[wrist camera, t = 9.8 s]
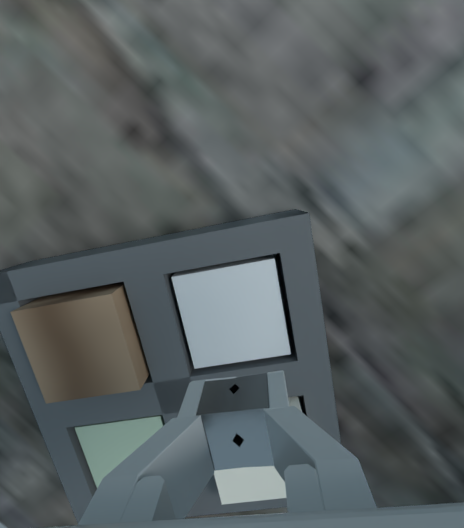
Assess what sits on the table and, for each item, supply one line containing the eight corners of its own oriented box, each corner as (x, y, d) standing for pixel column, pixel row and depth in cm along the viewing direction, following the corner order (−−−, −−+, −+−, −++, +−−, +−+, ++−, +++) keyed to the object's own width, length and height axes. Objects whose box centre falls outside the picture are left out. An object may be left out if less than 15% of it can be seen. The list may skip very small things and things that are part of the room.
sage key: (170, 389, 20) (159, 416, 18) (188, 455, 21) (181, 488, 19) (94, 400, 21) (74, 427, 18) (116, 464, 22) (100, 497, 19)
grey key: (270, 249, 18) (274, 258, 15) (285, 333, 19) (290, 354, 16) (181, 266, 18) (171, 277, 16) (201, 346, 19) (194, 368, 17)
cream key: (294, 383, 18) (302, 413, 16) (307, 457, 19) (316, 494, 17) (207, 396, 19) (201, 426, 16) (224, 466, 20) (221, 504, 17)
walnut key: (130, 279, 17) (111, 293, 15) (154, 364, 18) (140, 389, 16) (42, 295, 18) (10, 311, 15) (72, 376, 19) (45, 403, 16)
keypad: (295, 209, 18) (309, 213, 14) (330, 446, 22) (348, 500, 18) (31, 261, 20) (-22, 277, 16) (107, 473, 24) (79, 527, 20)
